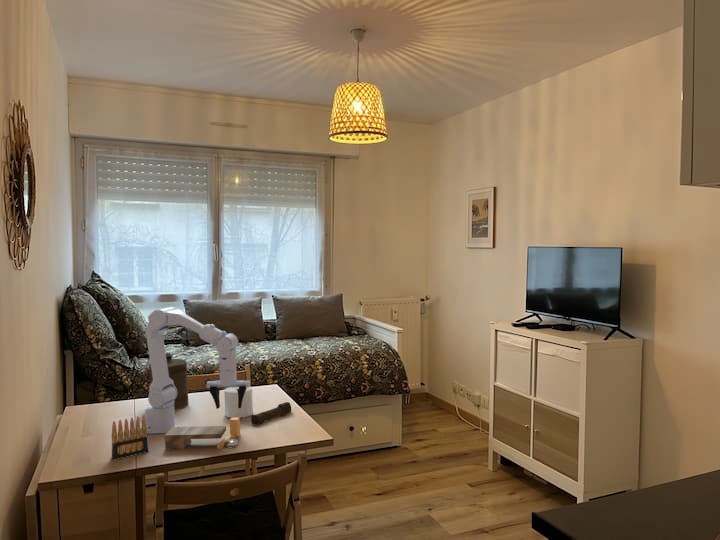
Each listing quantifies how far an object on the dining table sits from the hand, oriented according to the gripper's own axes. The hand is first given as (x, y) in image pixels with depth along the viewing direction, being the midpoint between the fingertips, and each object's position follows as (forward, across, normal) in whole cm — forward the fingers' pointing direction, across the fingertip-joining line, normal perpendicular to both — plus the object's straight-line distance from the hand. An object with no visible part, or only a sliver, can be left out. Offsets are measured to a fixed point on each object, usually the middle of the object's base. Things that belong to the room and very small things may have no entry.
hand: (229, 407), depth 193 cm
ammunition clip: (+10, +28, +18) cm, 34 cm away
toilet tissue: (+10, +2, -23) cm, 25 cm away
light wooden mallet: (+9, -1, +7) cm, 12 cm away
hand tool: (+10, -12, -16) cm, 23 cm away
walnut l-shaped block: (+9, +9, +10) cm, 16 cm away
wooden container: (+10, +33, -36) cm, 49 cm away
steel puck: (+9, -3, +11) cm, 15 cm away
